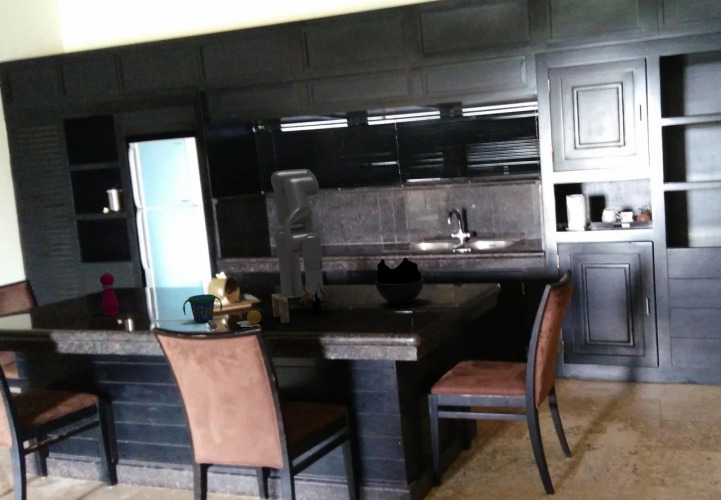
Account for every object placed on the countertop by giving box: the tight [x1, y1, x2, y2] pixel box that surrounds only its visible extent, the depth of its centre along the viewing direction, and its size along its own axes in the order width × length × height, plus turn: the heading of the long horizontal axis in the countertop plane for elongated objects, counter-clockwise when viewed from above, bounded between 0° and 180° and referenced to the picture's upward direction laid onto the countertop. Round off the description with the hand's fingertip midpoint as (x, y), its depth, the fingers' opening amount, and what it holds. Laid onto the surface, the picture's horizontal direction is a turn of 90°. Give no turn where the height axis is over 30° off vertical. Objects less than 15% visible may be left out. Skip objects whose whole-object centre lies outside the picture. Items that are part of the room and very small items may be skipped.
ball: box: [246, 309, 262, 324], centre depth 298 cm, size 6×6×6 cm
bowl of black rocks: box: [374, 257, 425, 305], centre depth 314 cm, size 20×20×19 cm
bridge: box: [271, 292, 290, 324], centre depth 303 cm, size 3×14×9 cm, turn 19°
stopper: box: [207, 319, 218, 330], centre depth 296 cm, size 9×2×2 cm, turn 19°
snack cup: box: [182, 293, 223, 323], centre depth 310 cm, size 16×10×10 cm
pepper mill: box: [99, 269, 120, 317], centre depth 338 cm, size 7×7×20 cm
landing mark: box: [237, 320, 261, 328], centre depth 298 cm, size 12×12×1 cm
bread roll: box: [299, 291, 325, 308], centre depth 327 cm, size 10×10×8 cm
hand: (317, 310), depth 308 cm, fingers closed
